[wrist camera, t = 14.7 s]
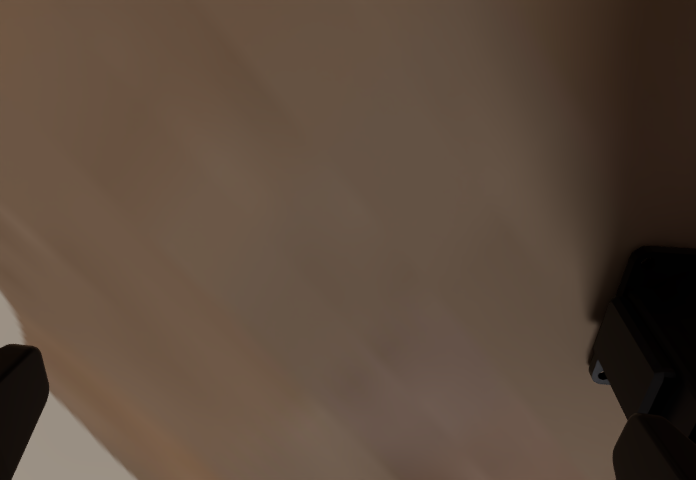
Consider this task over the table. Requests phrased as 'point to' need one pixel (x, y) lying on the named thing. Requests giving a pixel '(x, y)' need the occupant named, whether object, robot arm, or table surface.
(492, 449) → the table surface
